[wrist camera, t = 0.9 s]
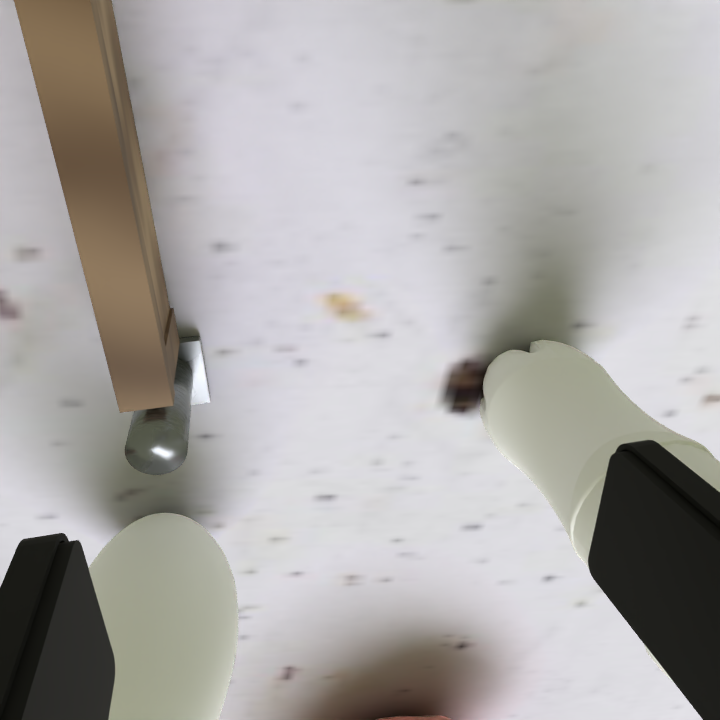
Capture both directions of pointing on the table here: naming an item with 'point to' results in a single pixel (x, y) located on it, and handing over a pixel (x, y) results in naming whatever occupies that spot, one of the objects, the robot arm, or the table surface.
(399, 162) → the table surface
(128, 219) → the gate
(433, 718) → the cell model
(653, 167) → the table surface
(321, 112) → the table surface
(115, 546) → the sauce bottle
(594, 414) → the water bottle
